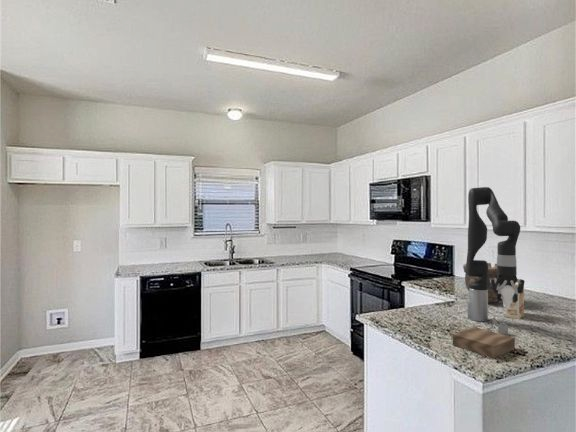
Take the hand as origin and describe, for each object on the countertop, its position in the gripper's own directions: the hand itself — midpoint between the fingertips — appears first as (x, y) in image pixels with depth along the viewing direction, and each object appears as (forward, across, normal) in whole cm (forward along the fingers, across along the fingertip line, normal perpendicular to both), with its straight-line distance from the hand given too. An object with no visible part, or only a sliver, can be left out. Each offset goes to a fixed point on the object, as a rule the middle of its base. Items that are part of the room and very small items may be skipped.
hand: (506, 301), depth 159 cm
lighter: (+20, +3, +17) cm, 26 cm away
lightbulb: (+3, 0, 0) cm, 3 cm away
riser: (+20, -11, -4) cm, 23 cm away
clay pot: (+20, +19, +83) cm, 88 cm away
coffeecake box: (+20, +25, +51) cm, 60 cm away
